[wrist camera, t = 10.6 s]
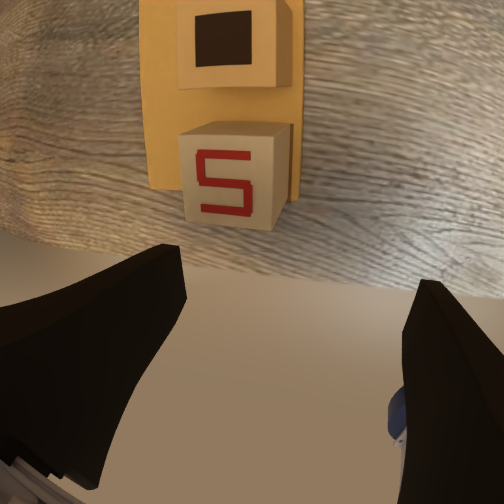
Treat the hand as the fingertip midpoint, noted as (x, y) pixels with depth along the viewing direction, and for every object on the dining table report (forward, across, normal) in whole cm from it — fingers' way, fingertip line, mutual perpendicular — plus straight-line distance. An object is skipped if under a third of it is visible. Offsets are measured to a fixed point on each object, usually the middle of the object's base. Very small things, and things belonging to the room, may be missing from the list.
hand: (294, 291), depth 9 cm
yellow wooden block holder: (+9, +6, -10) cm, 15 cm away
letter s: (+8, +4, -2) cm, 9 cm away
